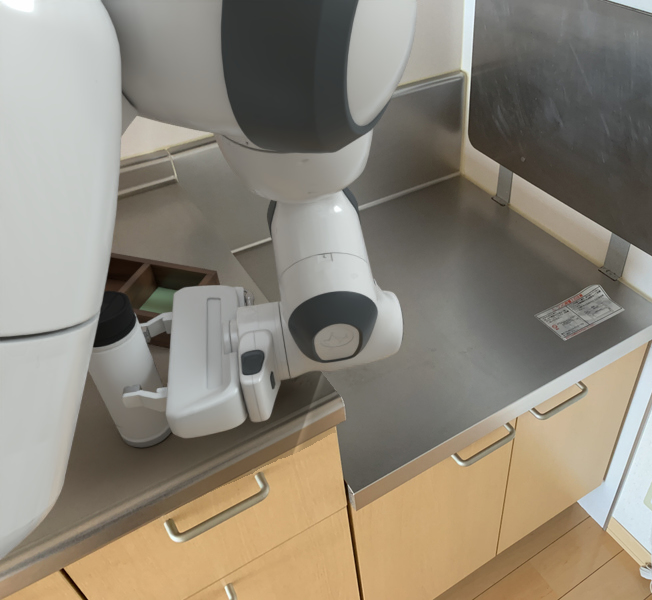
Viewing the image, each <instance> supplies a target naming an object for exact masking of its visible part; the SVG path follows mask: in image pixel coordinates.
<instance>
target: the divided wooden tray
mask: <svg viewBox="0 0 652 600" xmlns="http://www.w3.org/2000/svg"><path fill="white" fill-rule="evenodd" d="M210 285H221V283H220V278H219V275H218V271H217V270H214V269H210V268H209V269H208V268H203V267H197V266H190V265H186V264H179V263H173V262H168V261H163V260H157V259H151V258H146V257H140V256H139V257H138V256H135V255H134V256H133V255H128V254H121V253H116V252H111V256H110V263H109V268H108V273H107V279H106V284H105V290H104V291H116V292H122V293H124V294H126V295H127V296H128V298H129V300H130V303H131V305H132V308H133V311H134V313H135V314H136V317H137V319H138V322H139V324H142V323H147V322H148V321H150V320H152V319H153V318H155V317H157V316H159V315H160V314H162V313H167V312H172V310H173V296H174V293H175V292H177V291H179V290H180V289H182V288H185V287H194V286H210ZM170 340H171V333H170V334H167V332H166V331H165V332H163V333H160V334H158V335H156V336H154V337H151V340H150V342H149V343H147V345H153V346H157V347H161V348H162V347H163V348H166V349H170Z"/></svg>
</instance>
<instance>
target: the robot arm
mask: <svg viewBox="0 0 652 600" xmlns="http://www.w3.org/2000/svg"><path fill="white" fill-rule="evenodd" d="M417 18H418V0H0V561H1V560H3V559H4V558H5V557H6V556H7V555H8V554H10V553H11V552H12V551H14V549H16V547H18V546H19V545H20V544H22V542H23V541H25V539H26V538H27V537H29V536H30V535H31V534H32V533H33V532H34V531H35V530H36V529H37V528H38V527H39V525H40V524H42V523H43V521H44V520H45V518H46V517H47V516H48V515H49V513H50V512H51V511H52V509H53V508H54V506H55V505H56V503H57V501H58V499H59V497H60V494H61V493H62V490H63V487H64V484H65V479H66V473H67V469H68V464H69V460H70V455H71V451H72V446H73V442H74V437H75V433H76V428H77V423H78V418H79V414H80V409H81V405H82V400H83V397H84V396H83V395H84V391H85V387H86V386H85V385H86V381H87V378H88V377H87V376H88V373H89V371H88V367H89V363H90V358H91V353H92V348H93V344H94V339H95V334H96V330H97V325H98V320H99V315H100V308H101V305H102V300H103V295H104V290H105V284H106V279H107V273H108V268H109V263H110V256H111V253H112V249H113V240H114V233H115V226H116V217H117V208H118V196H119V184H120V174H121V158H122V157H121V156H122V155H121V152H122V151H121V150H122V137H123V135H124V134H125V132H126V131H127V130H128V128H129V127H130V125H131V124H132V123H133V121H134V120H135V119H136V118H137V117H140V118H144V119H147V120H151V121H155V122H158V123H163V124H166V125H172V126H175V127H180V128H184V129H189V130H193V131H198V132H204V133H210V134H213V137H214V139H215V142H216V144H217V146H218V149H219V150H220V152H221V154H222V156H223V157H224V160H225V161H226V163H227V164H228V166H229V168H230V169H231V171H232V172H233V173H234V175H235V177H236V178H237V179H238V181H239V182H240V183H241V185H242V186H243V187H244V188H245V189H246V190H248V191H249V192H251V193H252V194H254V195H257V196H258V197H260V198H263V199H266V200H269V204H268V207H267V212H266V222H267V225H268V226H267V227H268V230H269V235H270V239H271V242H272V246H273V247H272V249H273V255H274V261H275V268H276V275H277V282H278V289H279V290H278V291H279V297H280V300H279V301H269V302H263V303H258V304H255V295H254V293H253V292H252V291H249V289H247V288H244V286H230V285H223V284H222V285H221V284H220V285H210V286H194V287H185V288H182V289H180V290H179V291H177V292H175V293H174V296H173V310H172V312H167V313H162V314H160V315H159V316H157V317H155V318H153V319H152V320H150V321H148V322H147V323H142V324H140V327H141V329H142V332H143V335H144V337H145V340H146V342H147V343H149V342H150V340H151V337H154V336H156V335H158V334H160V333H163V332H165V331H166V332H167V334H170V333H171V340H170V348H169V357H168V369H167V386H164V387H163V388H158V389H157V391H156V392H157V393H153V392H148V391H143V390H142V387H141V385H140V384H138V385H133V386H131V387H130V386H126V387H124V389H123V394H122V402H123V404H124V406H125V407H126V408H134V407H140V406H144V407H146V408H150V409H153V410H156V411H159V412H164V411H166V418H167V421H168V424H169V426H170V429H171V431H172V432H171V433H172V434H173V435H174V436H176V437H179V438H182V439H192V438H199V437H204V436H210V435H214V434H218V433H222V432H226V431H229V430H232V429H234V428H237V427H239V426H240V425H242V424H243V423H244V422H245V421H246V420H247V418H248V417H249V420H250V422H252V423H261V422H265V421H267V420H269V419H270V417H271V415H272V412H273V409H274V405H275V401H276V398H277V396H278V392H279V389H280V386H281V384H282V381H284V380H289V379H290V380H291V379H295V378H297V377H299V376H301V375H304V374H307V373H310V372H324V373H331V372H336V371H343V370H347V369H352V368H357V367H360V366H364V365H368V364H372V363H375V362H378V361H381V360H384V359H386V358H388V357H391V356H393V355H395V354H396V353H398V351H399V350H400V348H401V345H402V343H403V340H404V325H405V321H404V314H403V309H402V306H401V302H400V300H399V298H398V296H397V295H396V294H395V293H394V292H393V291H390V290H383V289H381V287H380V286H379V285H378V283H377V280H376V279H375V278H374V277H373V272H372V267H371V263H370V259H369V255H368V251H367V247H366V243H365V238H364V233H363V230H362V229H363V228H362V222H361V215H360V209H359V203H358V201H357V198H356V197H355V195H354V194H353V192H352V191H351V190H350V188H349V186H350V185H351V184H353V182H355V181H356V180H357V179H358V178H359V177H360V176H361V175H362V173H363V172H364V170H365V168H366V165H367V163H368V159H369V156H370V152H371V145H372V140H373V134H374V128H375V127H376V126H377V125H378V123H379V122H380V120H381V119H382V117H383V115H384V114H385V112H386V110H387V109H388V106H389V104H390V103H391V100H392V97H393V96H394V94H395V92H396V90H397V88H398V86H399V84H400V82H401V80H402V79H403V76H404V73H405V71H406V68H407V66H408V62H409V60H410V57H411V54H412V50H413V45H414V41H415V36H416V35H415V34H416V28H417V20H418V19H417Z"/></svg>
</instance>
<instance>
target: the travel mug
mask: <svg viewBox="0 0 652 600" xmlns="http://www.w3.org/2000/svg"><path fill="white" fill-rule="evenodd" d="M88 373H89V375H90V377H91V379H92V382H93V383H94V385H95V387H96V389H97V391H98V393H99V395H100V397H101V399H102V401H103V403H104V405H105V407H106V409H107V411H108V413H109V415H110V417H111V419H112V420H113V423H114V424H115V427H116V429H117V431H118V433H119V435H120V437H121V439H122V440H123V442H124V443H125V444H127V445H128V446H130V447H134V448H149V447H153V446H155V445H157V444H159V443H161V442H163V441H164V440H165V439H166V438H168V437H169V436H170V435H171V433H172V431H171V429H170V426H169V424H168V421H167V418H166V411H164V412H159V411H156V410H153V409H150V408H146V407H144V406H140V407H134V408H126V407H125V406H124V404H123V402H122V394H123V389H124V387H126V386H130V387H131V386H133V385H138V384H140V385H141V387H142V390H143V391H148V392H153V393H157V392H156V391H157V389H158V388H163V387H165V386H164V383H163V381H162V378H161V376H160V374H159V370H158V367H157V366H156V363H155V360H154V358H153V354H152V353H151V350H150V347H149V344H147V342H146V340H145V337H144V335H143V332H142V329H141V327H140V324H139V322H138V319H137V317H136V314H135V313H134V311H133V308H132V305H131V303H130V300H129V298H128V296H127V295H126V294H124V293H122V292H116V291H104V295H103V300H102V305H101V308H100V315H99V320H98V325H97V330H96V334H95V339H94V344H93V348H92V353H91V358H90V363H89V367H88Z"/></svg>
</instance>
